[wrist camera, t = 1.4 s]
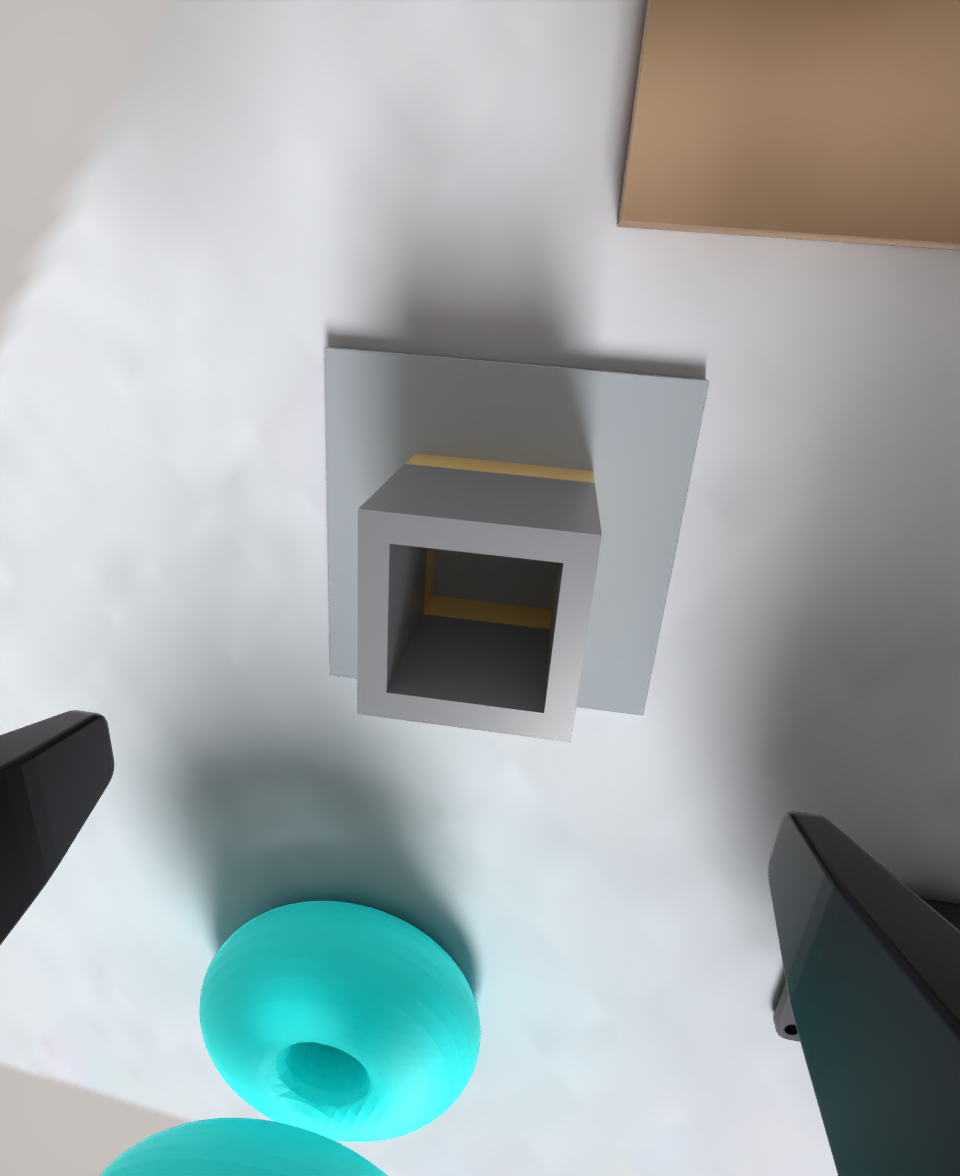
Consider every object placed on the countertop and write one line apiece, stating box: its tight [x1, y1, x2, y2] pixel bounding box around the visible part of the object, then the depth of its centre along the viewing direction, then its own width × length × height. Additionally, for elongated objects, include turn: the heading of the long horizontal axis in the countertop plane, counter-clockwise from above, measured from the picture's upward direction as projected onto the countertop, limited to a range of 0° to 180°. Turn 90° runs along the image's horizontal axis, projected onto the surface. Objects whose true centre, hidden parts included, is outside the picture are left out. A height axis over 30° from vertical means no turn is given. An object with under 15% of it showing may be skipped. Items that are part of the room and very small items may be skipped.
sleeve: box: [358, 453, 602, 742], centre depth 15 cm, size 4×4×5 cm
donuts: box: [99, 901, 480, 1176], centre depth 21 cm, size 10×10×10 cm
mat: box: [324, 347, 709, 715], centre depth 18 cm, size 9×9×1 cm
